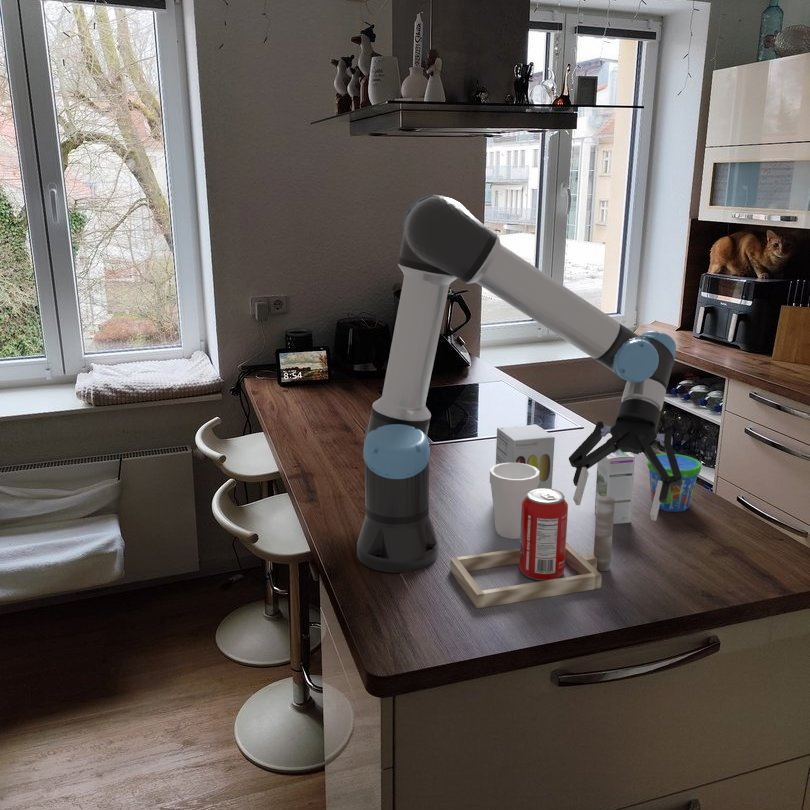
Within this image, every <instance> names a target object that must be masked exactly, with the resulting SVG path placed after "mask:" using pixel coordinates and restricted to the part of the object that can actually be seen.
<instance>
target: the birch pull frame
mask: <svg viewBox="0 0 810 810" xmlns="http://www.w3.org/2000/svg"><path fill="white" fill-rule="evenodd" d="M614 508H615V499H613V498H611V497H607V496H601V497H598V498H597V509H596V514H595V524H594V527H595V528H594V538H593V539H594V542H593V552H590V553H583V554H580V553H579V552H578V551H576V550H575V549H574V548H573V547H572V546H571V545H570V544H569V543H568V542H567V541H566V552H565V563H567V564H568V565H569V566H570V568H572V569H573V570H574V572H576V573H577V574H578V575H572V576H565V577H559V578H557V579H552V580H546V581H535V582H529V583H528V582H527V583H521V584H516V585H509V586H503V587H497V588H489V589H483V590H482V589H481V587H480V586H479V585H478V583H477V582H476V581H475V579H474V578H473V576H471V574H470V572H471V571H479V570H485V569H486V570H487V569H492V568H497V567H504V566H511V565H518V564H519V560H520V547H518V548H511V549H505V550H498V551H491V552H484V553H476V554H470V555H462V556H457V557H450V559H449V561H450V562H449V563H450V564H449V566H450V567H449V568H450V569H449V571H450V573H451V574H452V576H453V577H454V578H455V580H456V581H457V583H458V585H459V586H460V587H461V589H462V590H463V591H464V593H465V594H466V595H467V597H468V598H469V600H470V601H471V603H472V604H473V605H474V607H475V608H476V609H478V610H479V609H482V608H488V607H496V606H500V605H505V604H506V605H508V604H513V603H519V602H524V601H531V600H537V599H544V598H549V597H555V596H563V595H566V594H567V595H568V594H573V593H580V592H586V591H591V590H598V589H601V588H602V577H603V574H602V573H600V572H609V570H611V559H612V558H611V557H612V545H613V544H612V543H613V533H614V532H613V531H614V524H613V521H614Z"/></svg>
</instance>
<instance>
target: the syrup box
mask: <svg viewBox="0 0 810 810" xmlns="http://www.w3.org/2000/svg"><path fill="white" fill-rule="evenodd" d="M635 460H636V457H635V456H634V455H633V453H631V452H622V451H621V450H620V449H619V450H617V451H616V452H614V453H611V454H609V455H608V456H606V457H605V458H603V459H602V460H600V461H599V462H598V463H596V465H597V466H596V482H595V483H596V484H595V487H596V488H595V499H594V505H595V506H594V514H595V515H596V509H597V498H598V497H601V496H607V497H611V498H613V499H615V508H614V521H613V525H614V524H615V525H616V524H617V525H618V524H628V523H629V524H630V523H631V522H632V520H631V519H632V509H633V495H634V493H633V492H634V478H635V477H634V476H635V462H636V461H635Z"/></svg>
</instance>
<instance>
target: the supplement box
mask: <svg viewBox="0 0 810 810" xmlns="http://www.w3.org/2000/svg"><path fill="white" fill-rule="evenodd" d="M555 439H556V438H555V436H554V435H553V434H551V433H549V432H548V431H547V430H545V429H544V428H542V427H541V426H539V425H538V424H529V425H528V424H527V425H517V426H505V427H501V426H500V427H499V426H498V427H497V428H496V444H495V446H496V447H495V465H497V464H501V463H523V464H528V465H531V466H534V467H536V468H537V469H538V470H539V471H540V472H539V485H538V487H537V488H550V489H553V471H554V458H555V457H554V456H555V441H556V440H555Z"/></svg>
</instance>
